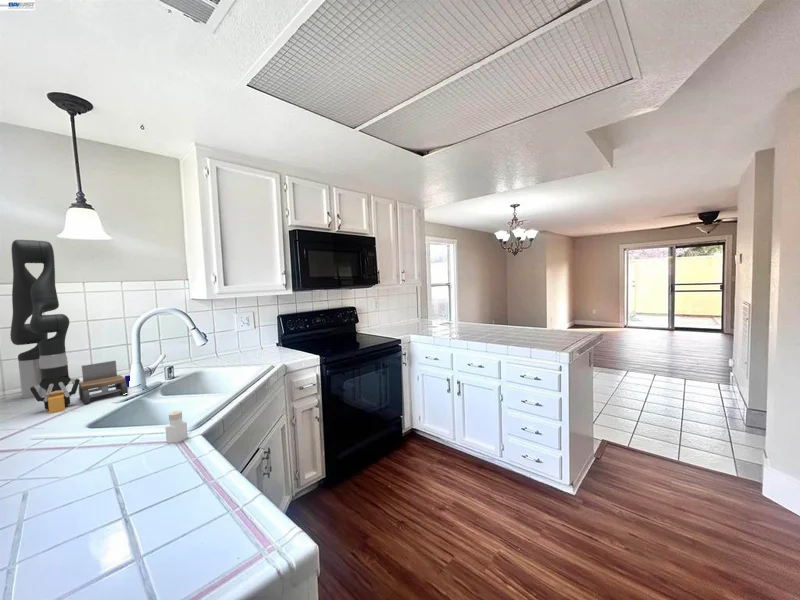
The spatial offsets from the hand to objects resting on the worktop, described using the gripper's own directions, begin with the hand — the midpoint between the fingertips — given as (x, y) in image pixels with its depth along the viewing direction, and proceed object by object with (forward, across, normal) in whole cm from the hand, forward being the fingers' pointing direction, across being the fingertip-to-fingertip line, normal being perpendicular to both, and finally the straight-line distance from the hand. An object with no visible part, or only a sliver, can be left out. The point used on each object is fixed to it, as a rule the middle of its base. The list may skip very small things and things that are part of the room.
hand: (57, 407), depth 129 cm
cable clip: (+1, -28, -15) cm, 32 cm away
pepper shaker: (+1, -19, +75) cm, 77 cm away
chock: (+1, 0, 0) cm, 1 cm away
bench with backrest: (+1, -14, -3) cm, 14 cm away
